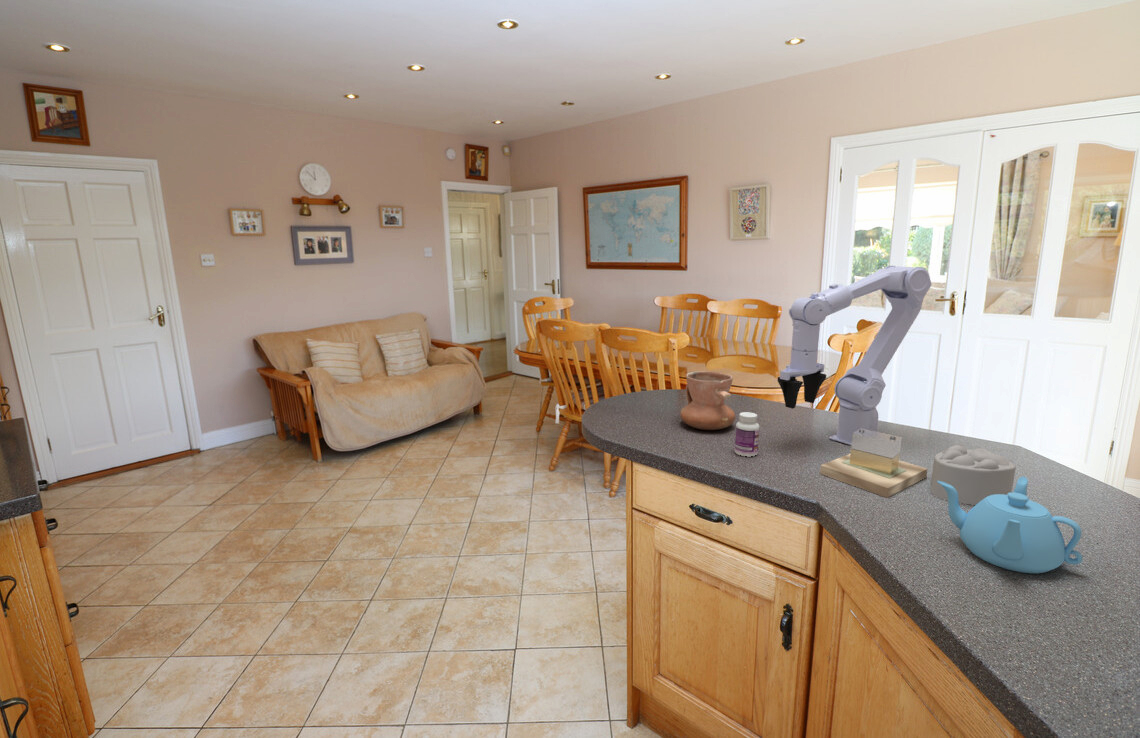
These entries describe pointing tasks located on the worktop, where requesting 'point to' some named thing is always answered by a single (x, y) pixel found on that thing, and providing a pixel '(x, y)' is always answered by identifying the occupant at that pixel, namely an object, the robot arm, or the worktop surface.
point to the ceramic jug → (707, 401)
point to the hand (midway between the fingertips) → (799, 404)
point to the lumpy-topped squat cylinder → (971, 474)
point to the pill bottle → (747, 435)
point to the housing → (875, 450)
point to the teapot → (1014, 531)
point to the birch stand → (874, 476)
